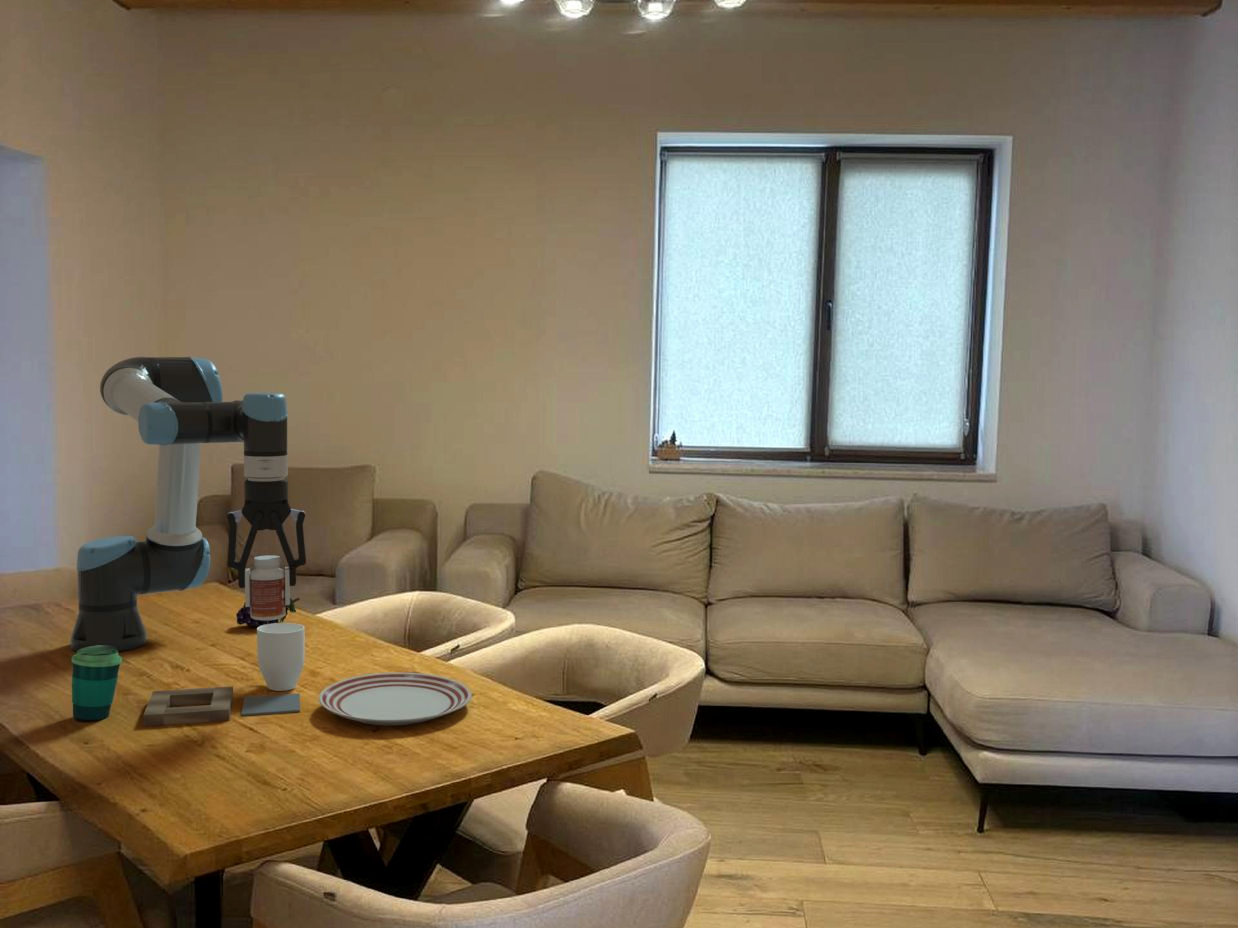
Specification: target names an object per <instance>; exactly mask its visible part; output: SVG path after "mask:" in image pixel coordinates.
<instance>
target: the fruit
mask: <svg viewBox="0 0 1238 928" xmlns="http://www.w3.org/2000/svg"><path fill="white" fill-rule="evenodd" d="M300 599H301V598H300V597H297V598H295V599H292V597H290V605H286V614H285V616H284V617H283V618H280V619H276V620H266V621H265V620H255V619H253V618H251V616H250V607H245V602H244V605H243V606H242V607H241V608H240V609H239V610H237V612H236V614H235V615H236V624H238V625H240V626H242V625H246V626H247V627H248V628H249V627H251V628H252V627H253V626H254V627H256V626H262V625H266V624H273V623H284V621H285V620H286V619H287V616H288V611H289V612H290V613H291V614H292V613H293V614H294V613H297V609H296V607H295V606H296V605H295V604H294V603H296V602H298V601H300Z"/></svg>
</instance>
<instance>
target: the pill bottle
mask: <svg viewBox="0 0 1238 928" xmlns="http://www.w3.org/2000/svg"><path fill="white" fill-rule="evenodd" d="M281 560H282V558H281V556H279V555H260V556H255V557H253V566H254V567H255V568H254V569H253V570H250V616H251V618H253V619H255V620H265V621H266V620H276V619H278V620H279V619H280V618H283V617H284V616H285V614H286V605H285V570H284V569H282V568H280V566H281V564H282V561H281ZM280 620H281V619H280Z"/></svg>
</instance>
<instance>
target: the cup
mask: <svg viewBox="0 0 1238 928" xmlns="http://www.w3.org/2000/svg"><path fill="white" fill-rule="evenodd" d="M122 661H123V658H122V656H120V655H119V652H118V651H117V648H116V647H115V646H110V645H97V646H90V647H85V648H82V649H79V650H78V651H76V654H74V655H72V657H71V662H72V674H71V703H72V717H73V718H74V720H75V721H76V722H79V723H93V722H99V721H102V720H105V719H107V718H109V716H110V712H111V707H112V704H113V702H114V697H115V693H116V688H117V683H118V678H119V675H118V674H119V671H120V665H121V664H122Z"/></svg>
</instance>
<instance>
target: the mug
mask: <svg viewBox="0 0 1238 928" xmlns="http://www.w3.org/2000/svg"><path fill="white" fill-rule="evenodd" d="M305 628H306V627H305V625H303V624H299V623H293V622H283V623H282V622H278V623H273V624H268V623H267V624H266V625H262V626H260V625H258V627H257V628H256V637H257V638H256V645H257V647H256V648H257V649H256V652H257V654H256V655H257V656H256V657H257V663H258V664H257V665H258V669H259V671H260V673H261V675H262V678H263V680H264V682H265V684H266V686H267V689H268V690H271V691H274V692H275V691H277V692H279V691H280V692H283V691H285V692H287V691H291V690H293V689H295V688H296V687H297V684H298V682H299V679H300V676H301V674H302V671H303V669H304V665H305V651H306V648H305V646H306V644H305V643H306V642H305V640H306V639H305V635H306V633H305V630H306V629H305Z"/></svg>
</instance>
